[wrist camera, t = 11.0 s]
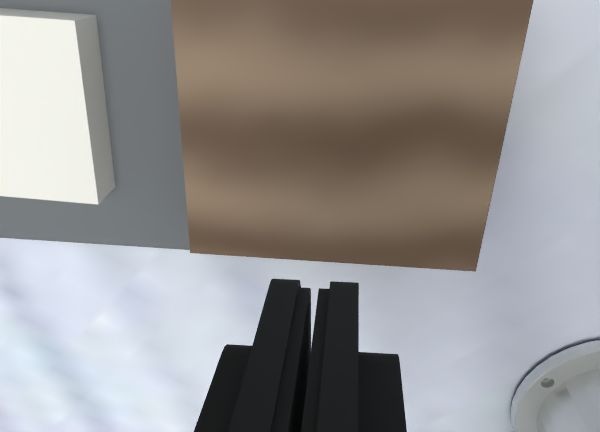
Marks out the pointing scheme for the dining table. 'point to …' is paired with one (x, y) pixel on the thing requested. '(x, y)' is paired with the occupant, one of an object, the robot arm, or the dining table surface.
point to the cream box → (53, 108)
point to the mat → (122, 136)
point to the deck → (345, 126)
